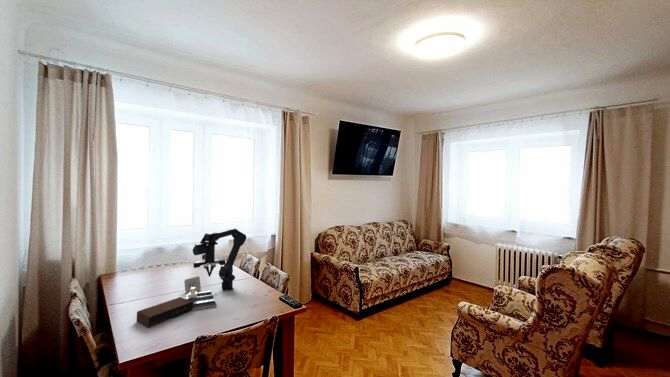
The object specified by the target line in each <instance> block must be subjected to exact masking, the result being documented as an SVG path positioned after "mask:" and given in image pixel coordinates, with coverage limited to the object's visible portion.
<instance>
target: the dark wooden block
mask: <svg viewBox="0 0 670 377" xmlns="http://www.w3.org/2000/svg"><path fill="white" fill-rule="evenodd" d="M191 309H193V302H192V301H189V300H187V299H185V298H184V297H180V296H179V297H176V298H173V299H170V300H168V301H165V302H161V303H158V304H156V305H152V306H150V307H146V308H144V309H140V310H138V311H136V322H137V323H138V324H140V325H142V326H144V327H146V328H148V329H150V328H151V327H152V328H153V327H155V326H158V325H160V324H162V323H165V322H167V321H170V320H173V319H175V318H177V317H180V316H183V315H185V314H187V313H191V312H192V311H191Z"/></svg>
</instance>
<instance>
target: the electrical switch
mask: <svg viewBox="0 0 670 377" xmlns="http://www.w3.org/2000/svg"><path fill="white" fill-rule="evenodd" d="M200 278H201V277H200V276H194V277H190V278H187V279H185V280H184V289H185V294H189V292H191V287H195V291H197V292H200V291H201V290H202V287H201V279H200Z"/></svg>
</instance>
